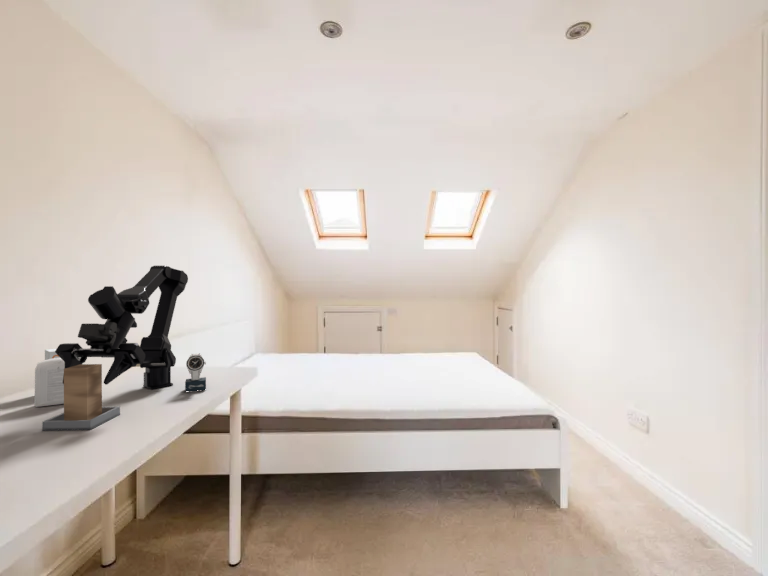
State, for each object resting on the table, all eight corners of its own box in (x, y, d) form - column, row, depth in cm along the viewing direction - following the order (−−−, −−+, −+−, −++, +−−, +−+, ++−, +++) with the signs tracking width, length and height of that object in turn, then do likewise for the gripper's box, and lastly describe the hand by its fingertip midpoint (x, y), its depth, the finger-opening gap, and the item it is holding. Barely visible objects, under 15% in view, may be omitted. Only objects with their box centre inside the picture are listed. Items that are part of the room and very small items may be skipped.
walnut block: (80, 416, 92) (80, 364, 92) (101, 416, 93) (101, 364, 93) (64, 424, 87) (63, 368, 87) (87, 423, 88) (86, 368, 88)
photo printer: (84, 398, 109) (84, 354, 109) (83, 402, 106) (83, 357, 106) (36, 404, 104) (36, 358, 104) (32, 408, 100) (32, 361, 100)
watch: (184, 394, 113) (184, 356, 113) (186, 387, 121) (186, 352, 120) (205, 392, 115) (205, 355, 115) (206, 385, 123) (206, 351, 123)
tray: (77, 415, 95) (77, 407, 95) (119, 414, 95) (119, 406, 95) (42, 430, 85) (42, 421, 85) (90, 430, 85) (90, 420, 85)
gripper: (60, 310, 95) (21, 365, 84) (138, 310, 96) (109, 364, 85) (84, 338, 103) (50, 391, 92) (156, 337, 104) (131, 390, 93)
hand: (84, 383), depth 90 cm, fingers open, 9 cm apart
